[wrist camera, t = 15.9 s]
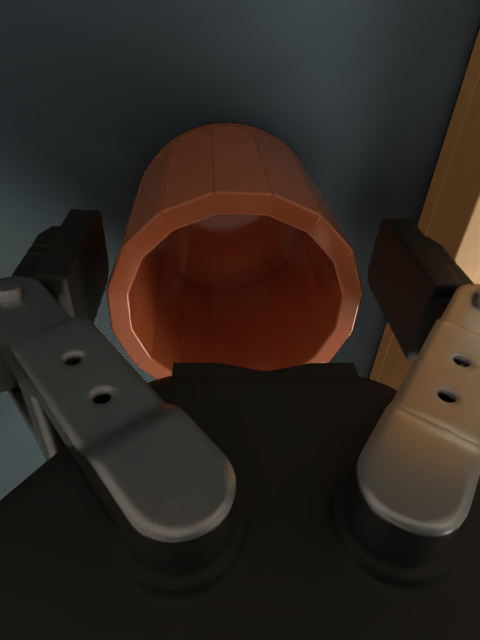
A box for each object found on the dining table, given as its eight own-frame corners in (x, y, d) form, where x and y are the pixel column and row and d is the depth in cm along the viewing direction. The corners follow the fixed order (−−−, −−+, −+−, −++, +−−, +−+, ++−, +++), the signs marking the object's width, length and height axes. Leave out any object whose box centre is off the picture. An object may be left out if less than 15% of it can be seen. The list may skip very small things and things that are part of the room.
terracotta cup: (143, 290, 17) (122, 400, 12) (127, 118, 13) (90, 188, 9) (302, 291, 17) (336, 397, 13) (329, 126, 14) (389, 196, 9)
